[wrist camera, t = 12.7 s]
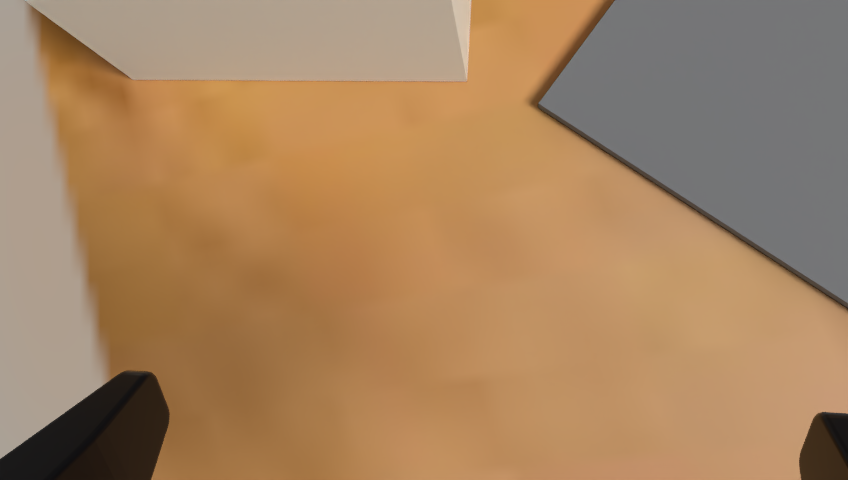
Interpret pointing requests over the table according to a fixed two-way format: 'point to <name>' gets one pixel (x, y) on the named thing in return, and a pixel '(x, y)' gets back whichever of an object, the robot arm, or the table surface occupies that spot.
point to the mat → (728, 117)
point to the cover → (273, 38)
